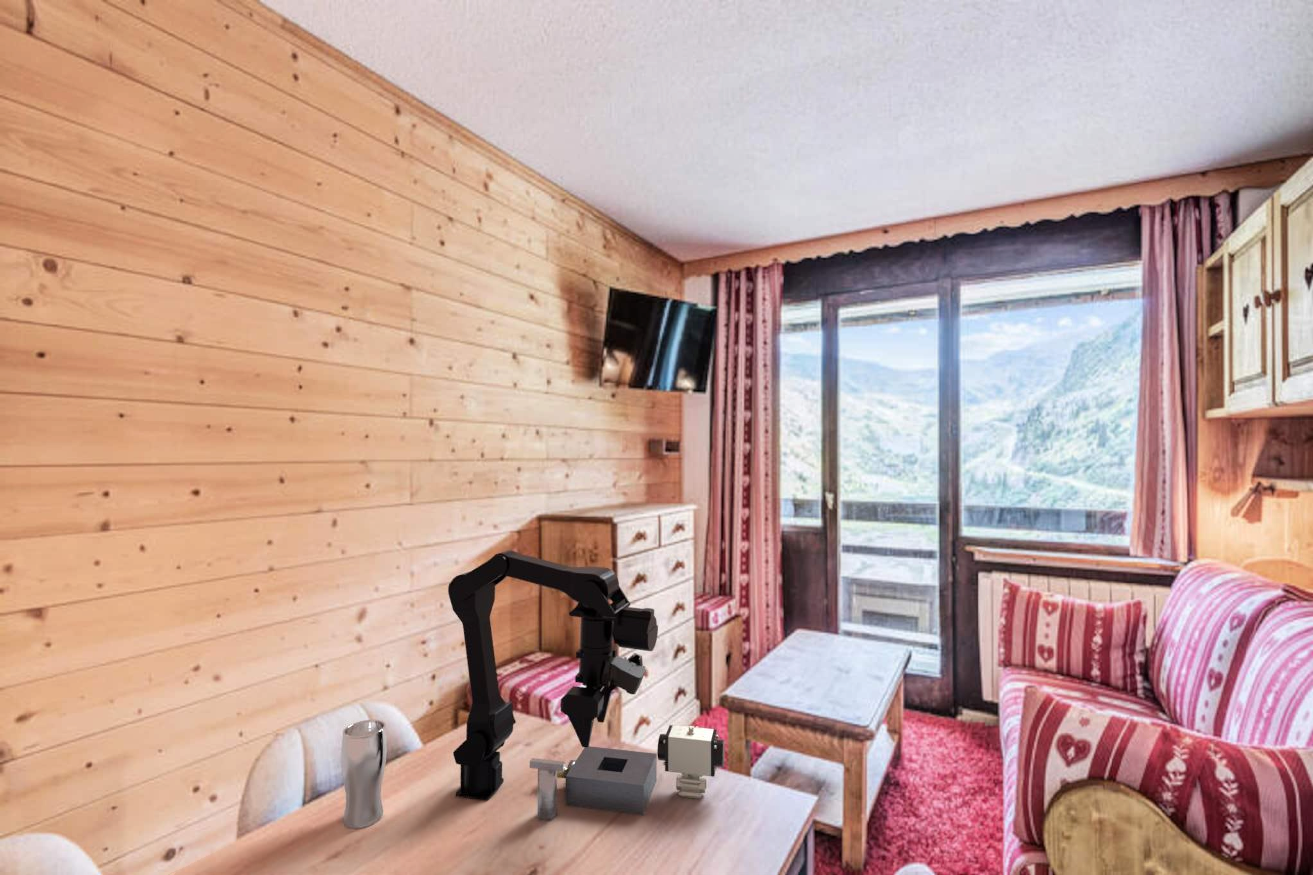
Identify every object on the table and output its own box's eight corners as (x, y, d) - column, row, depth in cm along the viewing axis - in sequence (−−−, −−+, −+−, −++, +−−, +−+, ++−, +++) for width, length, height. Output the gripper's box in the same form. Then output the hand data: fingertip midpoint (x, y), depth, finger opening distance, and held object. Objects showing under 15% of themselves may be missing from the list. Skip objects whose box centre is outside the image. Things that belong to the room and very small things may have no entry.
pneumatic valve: (722, 804, 106) (722, 735, 106) (656, 797, 108) (657, 729, 108) (725, 787, 111) (725, 721, 111) (662, 780, 113) (663, 716, 114)
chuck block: (533, 800, 106) (533, 772, 107) (555, 768, 117) (556, 742, 117) (643, 815, 102) (643, 785, 103) (656, 780, 113) (656, 753, 113)
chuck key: (526, 818, 101) (527, 764, 101) (534, 807, 104) (534, 754, 105) (560, 823, 100) (560, 768, 100) (567, 812, 103) (567, 758, 103)
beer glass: (330, 825, 99) (331, 733, 100) (363, 802, 106) (365, 716, 106) (362, 834, 97) (363, 740, 97) (395, 810, 103) (396, 722, 104)
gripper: (629, 667, 93) (626, 768, 93) (652, 631, 112) (649, 715, 112) (561, 659, 96) (557, 758, 95) (594, 625, 114) (592, 708, 114)
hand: (593, 733), depth 104 cm, fingers open, 9 cm apart
